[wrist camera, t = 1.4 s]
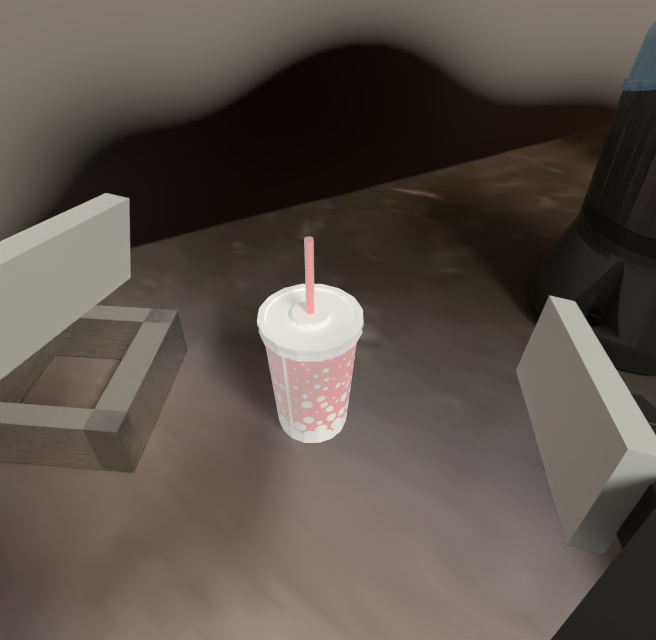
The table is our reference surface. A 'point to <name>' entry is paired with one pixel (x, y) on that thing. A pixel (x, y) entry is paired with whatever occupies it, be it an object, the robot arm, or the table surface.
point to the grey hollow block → (115, 403)
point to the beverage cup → (311, 353)
